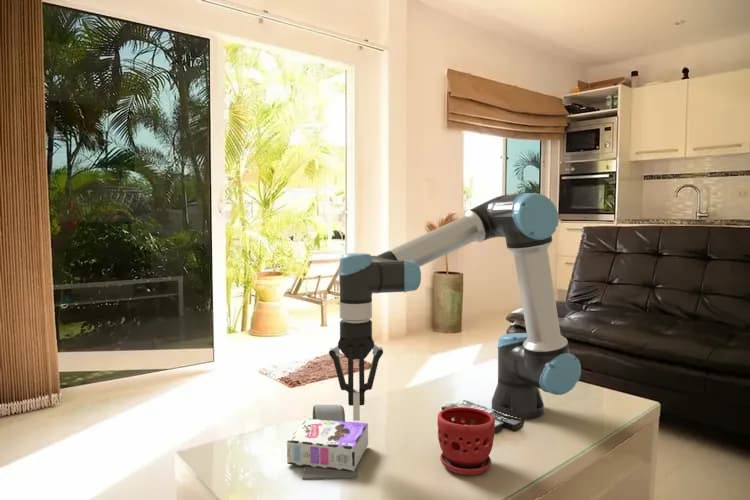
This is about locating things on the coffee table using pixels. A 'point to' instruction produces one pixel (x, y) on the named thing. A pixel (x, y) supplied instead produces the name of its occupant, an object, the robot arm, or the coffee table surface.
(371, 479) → the coffee table surface
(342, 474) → the mat
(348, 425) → the candy box
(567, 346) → the robot arm
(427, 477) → the coffee table surface
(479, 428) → the plant pot
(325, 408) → the ceramic mug
